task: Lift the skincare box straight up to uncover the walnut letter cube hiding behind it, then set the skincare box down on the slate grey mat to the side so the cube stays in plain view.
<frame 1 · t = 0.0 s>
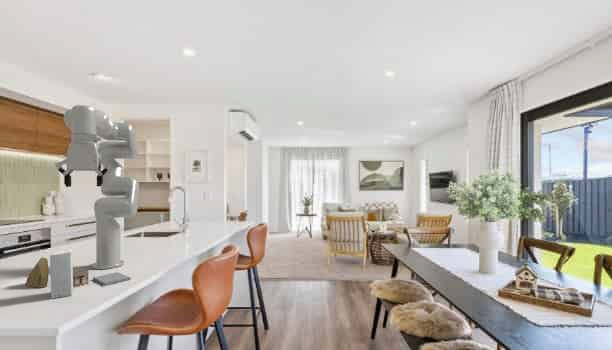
hand: (84, 186, 117), 37 cm above the counter, tool pointing down, fingers open, 9 cm apart
slate mat: (111, 279, 127), on the counter
walnut letter cube: (78, 284, 121), on the counter
skincare box: (62, 294, 111), on the counter
rock: (36, 286, 121), on the counter
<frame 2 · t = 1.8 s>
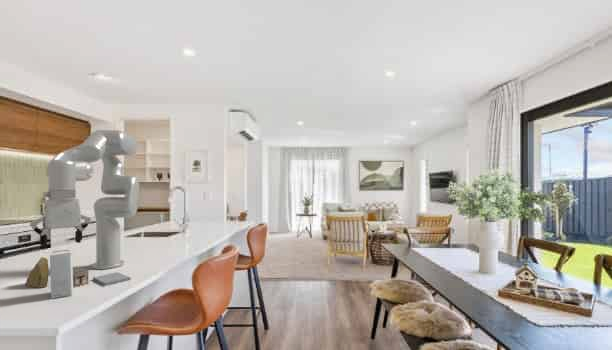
hand: (61, 244, 111), 17 cm above the counter, tool pointing down, fingers open, 9 cm apart
nothing on the counter moved.
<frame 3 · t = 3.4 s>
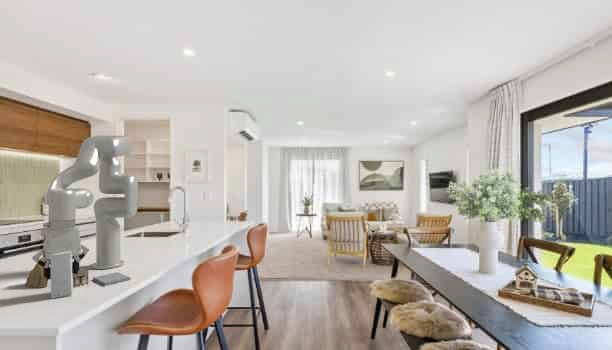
hand: (61, 275, 111), 6 cm above the counter, tool pointing down, fingers closed on skincare box, 7 cm apart
skincare box: (61, 294, 111), on the counter, touching gripper
everything else where it was.
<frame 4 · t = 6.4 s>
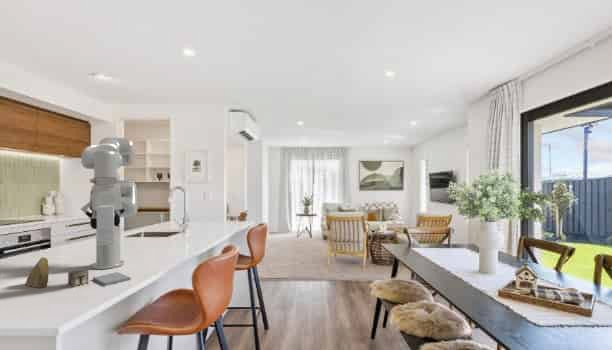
hand: (105, 226, 125), 21 cm above the counter, tool pointing down, fingers closed on skincare box, 7 cm apart
skincare box: (105, 243, 125), point 15 cm above the counter, touching gripper
everything else where it was.
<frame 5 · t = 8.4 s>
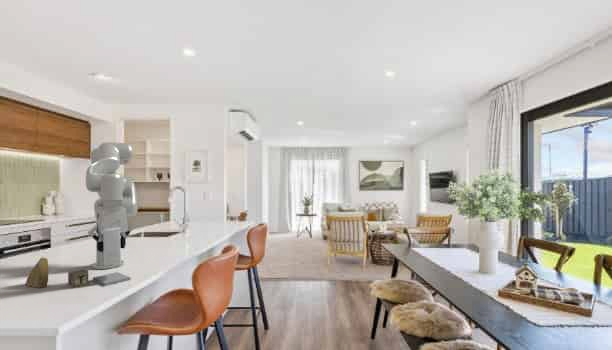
hand: (111, 249, 127), 12 cm above the counter, tool pointing down, fingers closed on skincare box, 7 cm apart
skincare box: (111, 266, 127), point 6 cm above the counter, touching gripper
everything else where it was.
when the fingers open (9 cm above the counter, at t = 9.7 s): skincare box drops 1 cm, resting on slate mat.
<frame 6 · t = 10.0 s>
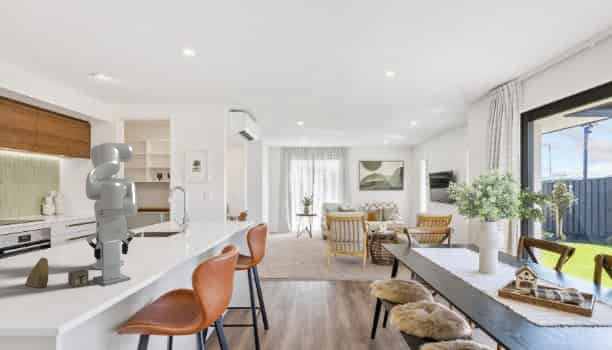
hand: (111, 256, 127), 9 cm above the counter, tool pointing down, fingers open, 9 cm apart
skincare box: (110, 277, 127), point 1 cm above the counter, touching slate mat
everything else where it was.
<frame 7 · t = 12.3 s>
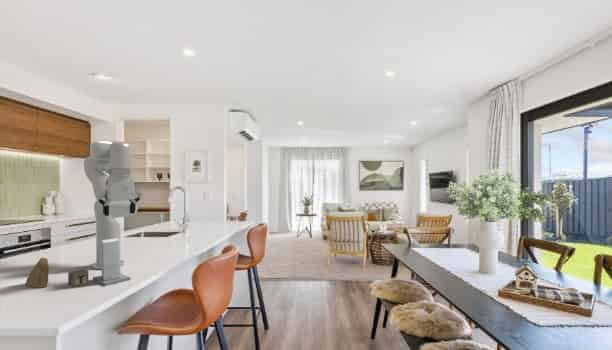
hand: (119, 214, 131), 25 cm above the counter, tool pointing down, fingers open, 9 cm apart
nothing on the counter moved.
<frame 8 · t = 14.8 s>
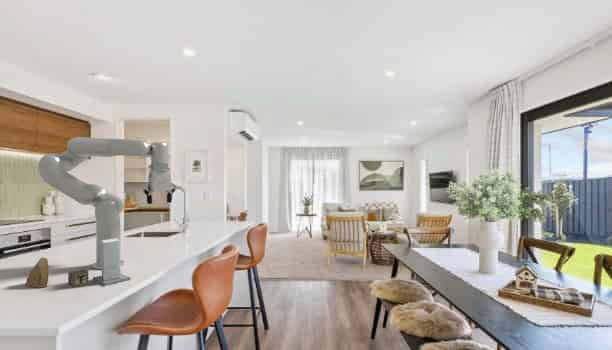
hand: (159, 203, 155), 28 cm above the counter, tool pointing down, fingers open, 9 cm apart
nothing on the counter moved.
at the end: skincare box inside the target area on the slate mat (0.3 cm from its centre), point 0.8 cm above the slate mat's base; skincare box tilted 0°; walnut letter cube moved 0.1 cm from its start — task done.
